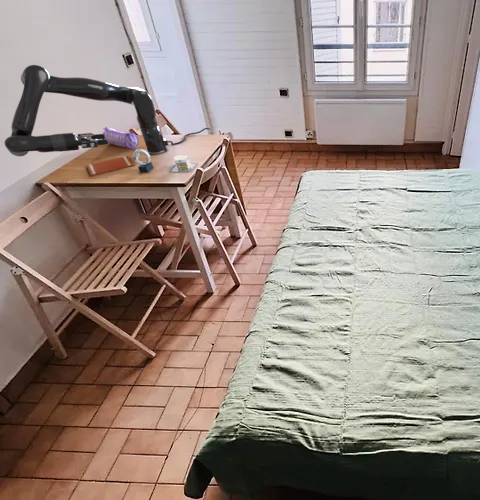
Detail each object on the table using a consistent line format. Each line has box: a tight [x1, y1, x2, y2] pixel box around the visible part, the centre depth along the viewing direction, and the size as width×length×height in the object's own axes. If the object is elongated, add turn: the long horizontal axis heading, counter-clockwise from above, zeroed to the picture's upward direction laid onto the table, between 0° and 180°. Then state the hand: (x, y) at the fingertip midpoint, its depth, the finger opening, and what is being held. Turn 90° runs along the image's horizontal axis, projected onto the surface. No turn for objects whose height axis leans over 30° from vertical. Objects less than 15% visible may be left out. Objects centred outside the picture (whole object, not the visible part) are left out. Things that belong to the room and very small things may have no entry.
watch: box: [132, 148, 154, 174], centre depth 191 cm, size 6×8×11 cm
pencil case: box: [102, 126, 140, 150], centre depth 219 cm, size 22×9×10 cm, turn 63°
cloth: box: [86, 155, 135, 177], centre depth 199 cm, size 20×14×1 cm
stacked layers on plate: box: [170, 154, 196, 173], centre depth 195 cm, size 10×9×6 cm
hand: (106, 138), depth 178 cm, fingers open, 8 cm apart
